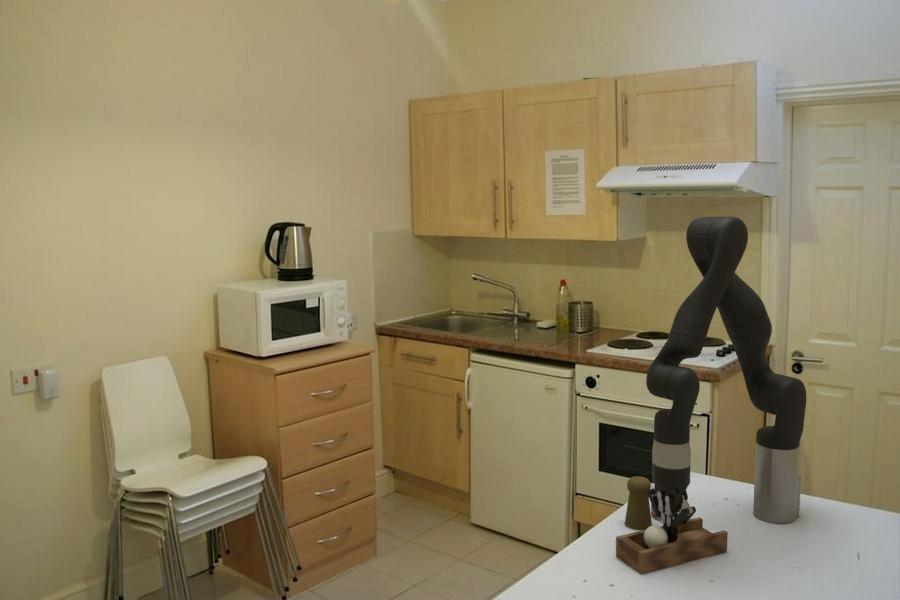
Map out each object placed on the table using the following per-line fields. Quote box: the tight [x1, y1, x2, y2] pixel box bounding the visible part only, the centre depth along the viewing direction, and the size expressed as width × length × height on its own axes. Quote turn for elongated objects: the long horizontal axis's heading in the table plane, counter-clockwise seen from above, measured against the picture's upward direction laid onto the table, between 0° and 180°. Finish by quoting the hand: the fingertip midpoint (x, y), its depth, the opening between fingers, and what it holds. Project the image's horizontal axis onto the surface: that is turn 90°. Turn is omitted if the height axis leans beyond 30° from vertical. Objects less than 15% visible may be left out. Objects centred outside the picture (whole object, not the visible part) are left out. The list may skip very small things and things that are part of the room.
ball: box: [644, 524, 668, 548], centre depth 162 cm, size 5×5×5 cm
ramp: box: [615, 517, 729, 575], centre depth 163 cm, size 22×8×4 cm, turn 114°
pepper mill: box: [624, 475, 653, 531], centre depth 178 cm, size 6×6×11 cm
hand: (670, 540), depth 163 cm, fingers closed
